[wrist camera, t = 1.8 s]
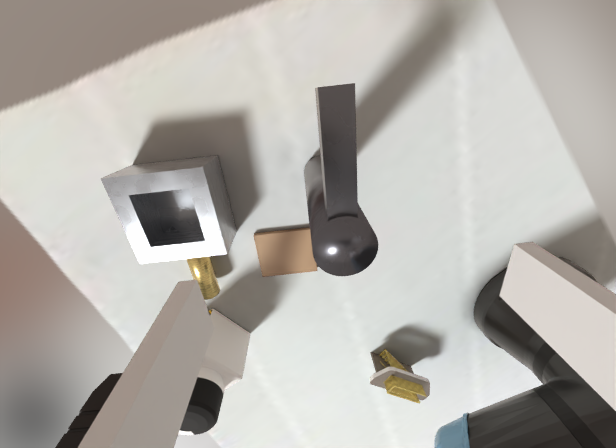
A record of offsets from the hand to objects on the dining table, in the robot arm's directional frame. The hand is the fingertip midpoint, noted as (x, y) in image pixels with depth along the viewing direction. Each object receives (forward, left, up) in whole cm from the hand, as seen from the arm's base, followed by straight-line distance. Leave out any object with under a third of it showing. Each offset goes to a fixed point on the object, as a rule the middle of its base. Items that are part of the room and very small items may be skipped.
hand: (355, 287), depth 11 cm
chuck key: (0, -3, -19) cm, 20 cm away
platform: (-9, +31, -20) cm, 38 cm away
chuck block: (+15, +5, -19) cm, 25 cm away
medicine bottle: (+17, +22, -20) cm, 34 cm away
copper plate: (+5, +10, -19) cm, 22 cm away
